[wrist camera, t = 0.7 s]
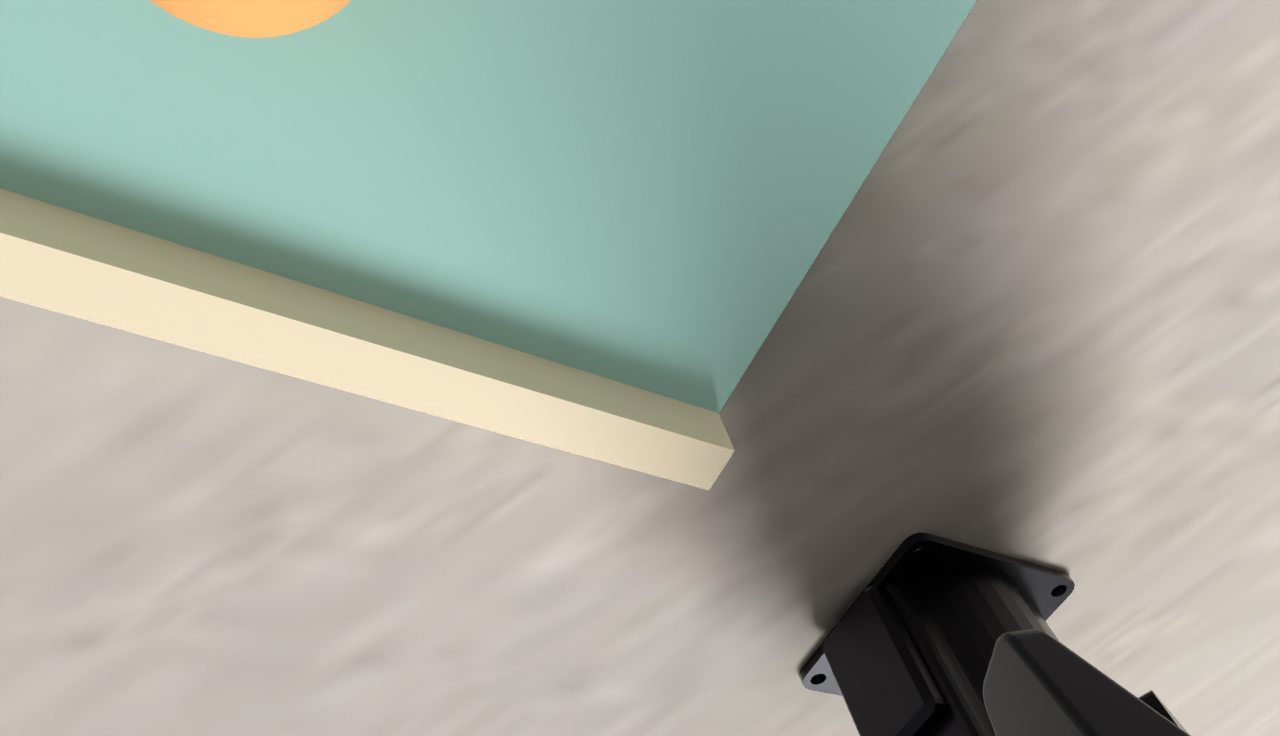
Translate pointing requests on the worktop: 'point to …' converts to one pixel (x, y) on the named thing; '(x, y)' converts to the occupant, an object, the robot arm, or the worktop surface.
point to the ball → (253, 15)
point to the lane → (458, 194)
